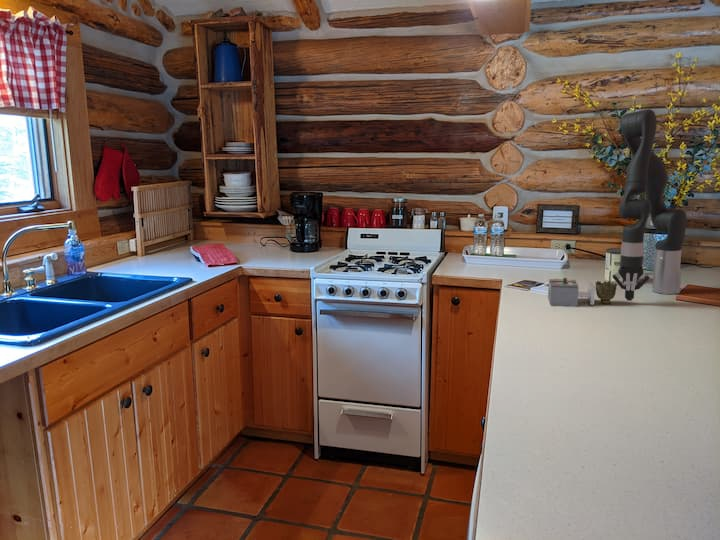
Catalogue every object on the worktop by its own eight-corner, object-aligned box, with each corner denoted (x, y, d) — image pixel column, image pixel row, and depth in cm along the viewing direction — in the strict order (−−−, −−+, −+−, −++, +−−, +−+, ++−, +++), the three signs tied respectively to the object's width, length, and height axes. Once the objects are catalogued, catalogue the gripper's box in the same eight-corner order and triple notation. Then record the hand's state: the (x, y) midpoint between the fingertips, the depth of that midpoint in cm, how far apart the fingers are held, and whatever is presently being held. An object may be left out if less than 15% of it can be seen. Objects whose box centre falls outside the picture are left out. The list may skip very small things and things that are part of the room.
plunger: (590, 299, 223) (591, 277, 221) (593, 304, 215) (595, 281, 214) (563, 298, 225) (564, 276, 224) (565, 304, 218) (566, 281, 216)
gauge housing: (573, 298, 226) (574, 278, 225) (577, 306, 215) (578, 285, 213) (548, 297, 229) (548, 278, 227) (550, 305, 217) (551, 284, 216)
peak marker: (565, 281, 219) (566, 277, 219) (566, 283, 217) (566, 278, 217) (563, 281, 219) (563, 277, 219) (563, 282, 218) (563, 278, 217)
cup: (612, 301, 221) (613, 280, 220) (618, 305, 214) (620, 284, 213) (592, 301, 222) (592, 280, 221) (598, 305, 215) (599, 284, 213)
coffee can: (623, 279, 258) (625, 247, 255) (634, 284, 248) (636, 251, 245) (600, 279, 258) (602, 248, 255) (609, 284, 248) (611, 252, 245)
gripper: (649, 252, 215) (646, 298, 218) (610, 252, 218) (608, 297, 221) (654, 256, 207) (650, 303, 211) (614, 255, 211) (611, 301, 214)
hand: (629, 299), depth 216 cm, fingers closed
